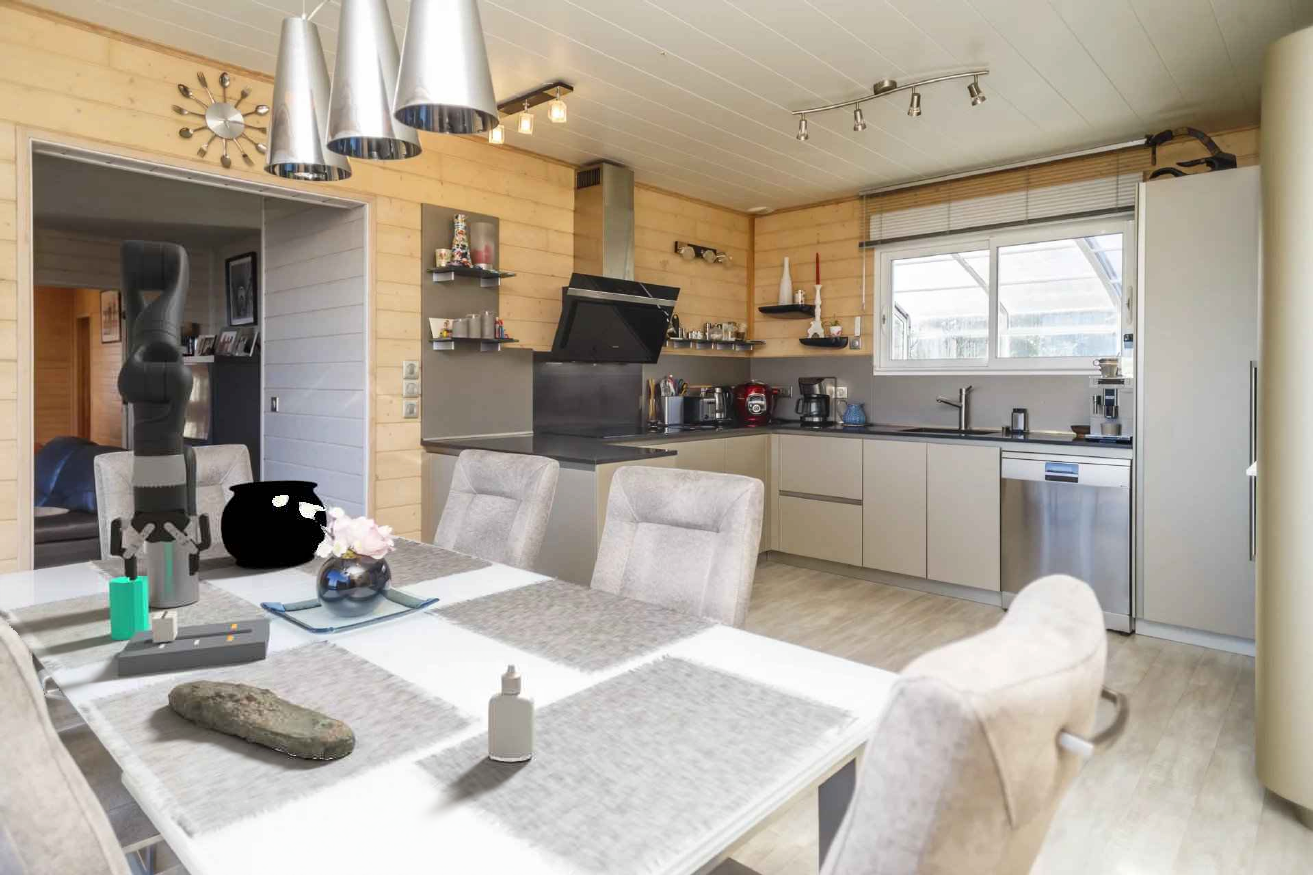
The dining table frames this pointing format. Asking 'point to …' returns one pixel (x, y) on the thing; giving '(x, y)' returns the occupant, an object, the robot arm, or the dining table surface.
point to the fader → (164, 626)
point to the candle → (128, 607)
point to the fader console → (196, 647)
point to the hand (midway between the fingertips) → (163, 577)
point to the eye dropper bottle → (511, 719)
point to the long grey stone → (262, 718)
